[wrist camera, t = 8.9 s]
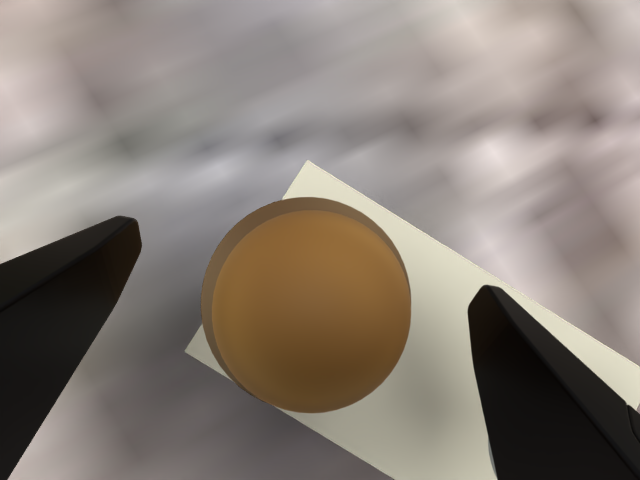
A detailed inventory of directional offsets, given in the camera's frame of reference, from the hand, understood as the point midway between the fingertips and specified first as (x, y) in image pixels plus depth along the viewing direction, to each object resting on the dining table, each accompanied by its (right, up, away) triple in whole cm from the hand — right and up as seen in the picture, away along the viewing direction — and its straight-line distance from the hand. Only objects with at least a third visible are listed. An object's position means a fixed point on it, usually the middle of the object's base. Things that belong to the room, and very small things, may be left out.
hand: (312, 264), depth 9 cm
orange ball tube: (-1, -2, +8) cm, 8 cm away
